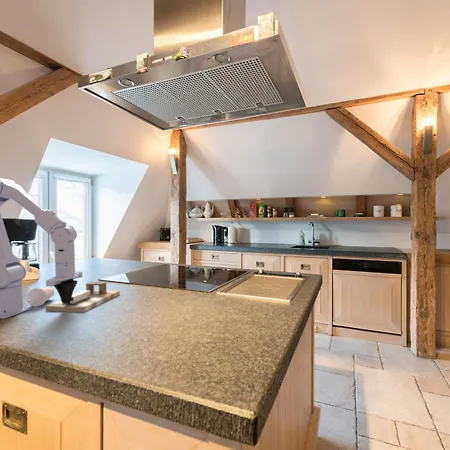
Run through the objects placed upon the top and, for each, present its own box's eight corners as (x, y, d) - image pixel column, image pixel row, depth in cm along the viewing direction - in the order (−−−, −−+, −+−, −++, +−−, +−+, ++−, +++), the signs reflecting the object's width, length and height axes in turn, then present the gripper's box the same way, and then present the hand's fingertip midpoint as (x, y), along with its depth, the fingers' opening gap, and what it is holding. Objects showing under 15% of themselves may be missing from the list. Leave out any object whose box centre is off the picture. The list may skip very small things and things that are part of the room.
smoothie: (37, 296, 111) (15, 304, 98) (45, 281, 112) (24, 287, 98) (53, 303, 112) (33, 313, 98) (61, 288, 112) (42, 295, 99)
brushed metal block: (73, 303, 99) (73, 296, 99) (65, 303, 99) (65, 296, 99) (90, 296, 108) (90, 290, 108) (82, 296, 108) (82, 290, 108)
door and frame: (83, 312, 95) (83, 294, 95) (45, 310, 98) (45, 293, 98) (119, 294, 117) (119, 280, 117) (87, 293, 120) (87, 280, 119)
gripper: (59, 266, 89) (61, 310, 89) (89, 259, 103) (90, 297, 104) (39, 265, 90) (40, 309, 91) (72, 259, 105) (73, 297, 105)
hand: (66, 303), depth 97 cm, fingers closed
